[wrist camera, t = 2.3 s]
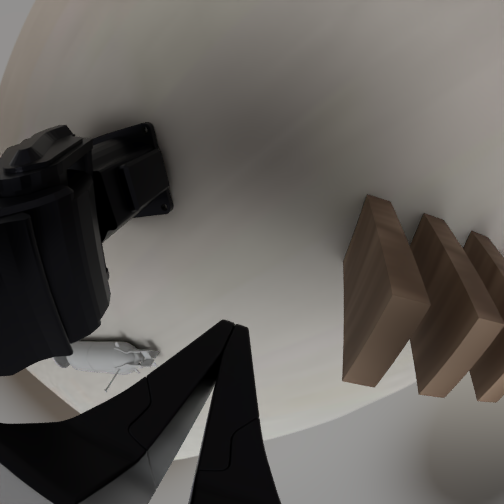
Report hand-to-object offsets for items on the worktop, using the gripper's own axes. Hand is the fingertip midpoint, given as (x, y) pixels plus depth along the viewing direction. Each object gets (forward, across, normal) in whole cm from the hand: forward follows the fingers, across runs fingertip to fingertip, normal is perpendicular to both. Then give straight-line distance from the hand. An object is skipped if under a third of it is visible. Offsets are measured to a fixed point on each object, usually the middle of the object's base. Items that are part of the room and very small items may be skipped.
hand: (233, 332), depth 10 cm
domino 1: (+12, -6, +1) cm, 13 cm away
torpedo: (+12, +16, +24) cm, 31 cm away
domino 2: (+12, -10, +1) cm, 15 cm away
